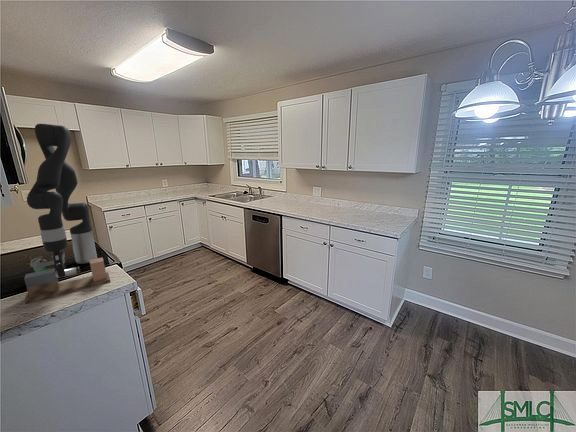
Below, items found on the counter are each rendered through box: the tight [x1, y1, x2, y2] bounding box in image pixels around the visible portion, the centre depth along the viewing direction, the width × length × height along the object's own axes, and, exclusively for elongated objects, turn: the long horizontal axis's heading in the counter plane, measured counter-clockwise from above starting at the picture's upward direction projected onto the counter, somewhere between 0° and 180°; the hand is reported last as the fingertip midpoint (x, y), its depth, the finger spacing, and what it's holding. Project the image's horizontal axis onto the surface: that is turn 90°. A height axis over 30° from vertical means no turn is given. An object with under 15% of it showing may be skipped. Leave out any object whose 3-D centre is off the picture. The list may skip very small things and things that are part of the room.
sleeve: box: [23, 267, 57, 289], centre depth 103 cm, size 9×5×4 cm, turn 130°
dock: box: [24, 271, 111, 305], centre depth 110 cm, size 28×10×6 cm, turn 130°
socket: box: [89, 257, 107, 281], centre depth 116 cm, size 5×5×9 cm
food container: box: [29, 255, 55, 272], centre depth 116 cm, size 12×6×10 cm, turn 62°
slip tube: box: [55, 266, 81, 279], centre depth 106 cm, size 17×3×3 cm, turn 130°
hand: (62, 273), depth 107 cm, fingers open, 8 cm apart
